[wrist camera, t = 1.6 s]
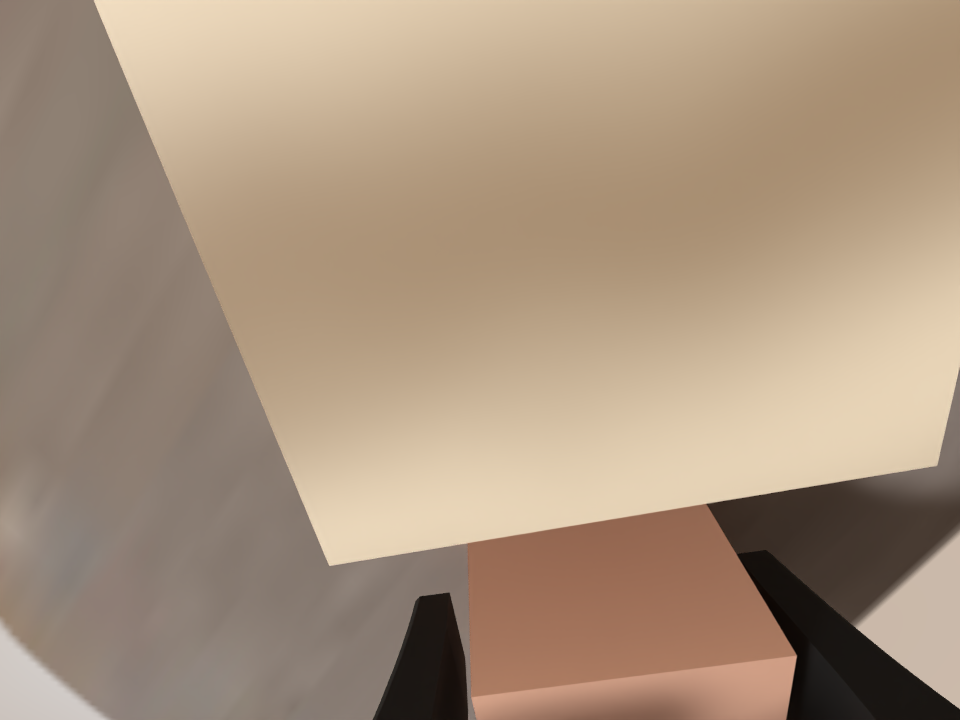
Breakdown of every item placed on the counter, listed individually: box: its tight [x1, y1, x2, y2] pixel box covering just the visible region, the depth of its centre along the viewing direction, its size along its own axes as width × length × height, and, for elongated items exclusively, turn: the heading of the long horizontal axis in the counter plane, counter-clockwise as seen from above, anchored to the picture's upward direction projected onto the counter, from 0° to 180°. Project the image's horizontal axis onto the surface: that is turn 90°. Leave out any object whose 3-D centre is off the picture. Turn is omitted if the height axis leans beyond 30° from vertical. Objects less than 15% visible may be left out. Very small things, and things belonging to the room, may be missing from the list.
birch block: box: [94, 0, 960, 566], centre depth 7 cm, size 8×8×4 cm
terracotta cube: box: [468, 504, 797, 720], centre depth 11 cm, size 4×4×4 cm
